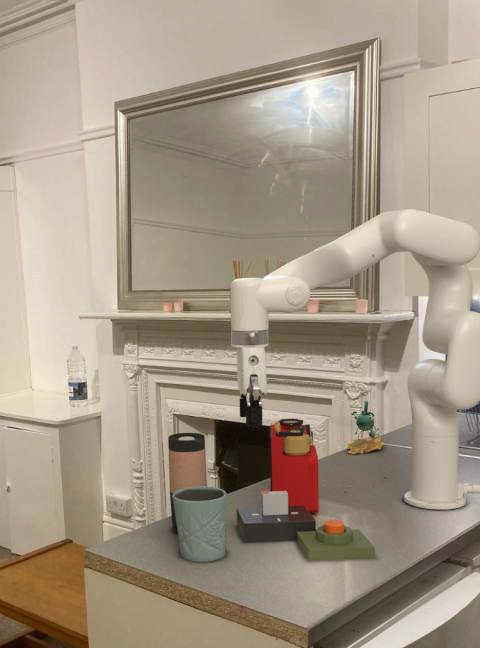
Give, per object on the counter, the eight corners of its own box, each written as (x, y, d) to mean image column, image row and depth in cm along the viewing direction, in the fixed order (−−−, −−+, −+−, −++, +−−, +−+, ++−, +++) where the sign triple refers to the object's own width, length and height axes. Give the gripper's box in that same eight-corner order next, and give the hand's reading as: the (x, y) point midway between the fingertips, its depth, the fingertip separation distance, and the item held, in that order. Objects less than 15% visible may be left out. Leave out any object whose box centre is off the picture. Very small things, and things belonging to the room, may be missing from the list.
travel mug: (170, 525, 173) (166, 433, 170) (206, 523, 173) (203, 431, 170) (172, 537, 165) (168, 441, 163) (210, 535, 165) (207, 439, 162)
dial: (286, 512, 165) (286, 489, 164) (288, 514, 163) (287, 491, 162) (261, 513, 165) (261, 490, 164) (263, 515, 163) (262, 492, 163)
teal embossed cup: (237, 558, 152) (235, 496, 150) (187, 567, 149) (184, 503, 147) (214, 541, 161) (212, 483, 160) (167, 549, 159) (164, 489, 157)
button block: (358, 540, 158) (358, 520, 158) (374, 558, 148) (374, 537, 148) (296, 542, 159) (296, 522, 158) (308, 561, 149) (308, 540, 148)
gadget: (304, 523, 169) (304, 504, 169) (316, 540, 159) (315, 519, 159) (237, 526, 170) (236, 507, 169) (244, 543, 160) (244, 522, 159)
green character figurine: (399, 444, 233) (397, 395, 230) (367, 463, 222) (364, 412, 218) (368, 439, 240) (365, 391, 237) (335, 458, 229) (332, 408, 225)
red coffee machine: (319, 519, 172) (318, 426, 169) (270, 518, 174) (268, 427, 171) (314, 497, 187) (313, 412, 184) (269, 497, 189) (267, 413, 186)
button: (341, 528, 155) (341, 519, 154) (346, 534, 151) (346, 525, 151) (322, 529, 155) (322, 520, 154) (327, 535, 151) (327, 526, 151)
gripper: (275, 342, 157) (276, 429, 159) (261, 334, 174) (262, 413, 176) (236, 343, 157) (237, 430, 160) (226, 335, 174) (227, 414, 177)
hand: (250, 421), depth 168 cm, fingers open, 9 cm apart
